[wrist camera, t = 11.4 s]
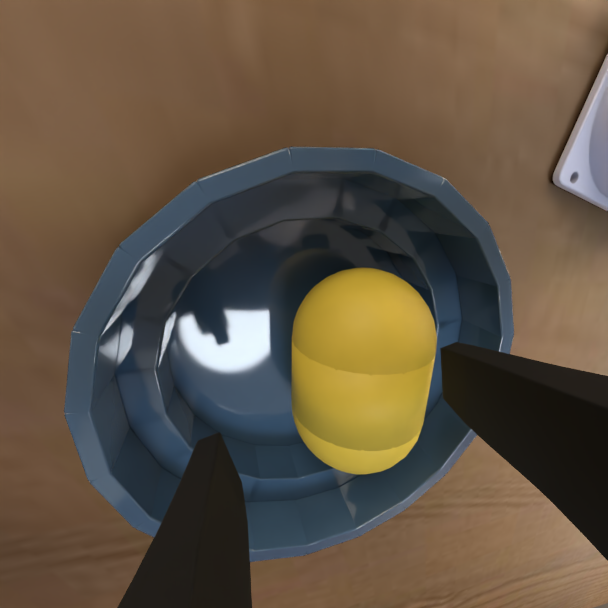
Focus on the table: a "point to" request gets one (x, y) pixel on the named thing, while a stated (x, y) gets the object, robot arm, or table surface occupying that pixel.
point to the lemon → (361, 369)
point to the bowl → (271, 337)
